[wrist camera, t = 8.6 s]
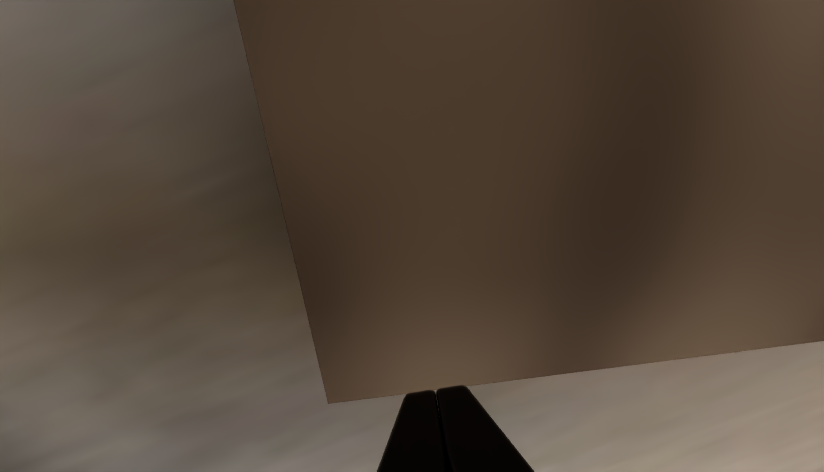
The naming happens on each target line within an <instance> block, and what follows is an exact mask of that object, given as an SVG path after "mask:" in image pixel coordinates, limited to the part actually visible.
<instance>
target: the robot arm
mask: <svg viewBox="0 0 824 472" xmlns="http://www.w3.org/2000/svg"><path fill="white" fill-rule="evenodd" d="M436 396H437V398H436ZM437 403H438V404H437ZM438 409H439V411H438ZM439 416H440V417H439ZM377 472H534V470H533V469H532V468H531V467H530V465H529V464H528V463H527V462H526V460H525V459H524V458H523V457H522V455H521V454H520V453H519V452H518V450H517V449H516V448H515V447H514V445H513V444H512V443H511V442H510V440H509V439H508V438H507V437H506V435H505V434H504V433H503V432H502V430H501V429H500V428H499V427H498V425H497V424H496V423H495V422H494V420H493V419H492V418H491V417H490V415H489V414H488V413H487V412H486V410H485V409H484V408H483V407H482V405H481V404H480V403H479V402H478V400H477V399H476V398H475V397H474V395H473V394H472V393H471V392H470V390H469V389H468V388H467V387H466V386H464V385H457V386H451V387H445V388H440V389H438V390H437V392H436V393H435V392H434V391H433V390H425V391H419V392H413V393H408V394H407V395H406V396H405V398H404V400H403V402H402V405H401V408H400V410H399V413H398V416H397V419H396V421H395V424H394V427H393V429H392V432H391V435H390V437H389V440H388V443H387V445H386V448H385V451H384V453H383V456H382V459H381V462H380V464H379V467H378V470H377Z"/></svg>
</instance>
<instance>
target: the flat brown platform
mask: <svg viewBox="0 0 824 472" xmlns="http://www.w3.org/2000/svg"><path fill="white" fill-rule="evenodd" d="M234 4H235V9H236V13H237V17H238V22H239V26H240V30H241V34H242V39H243V43H244V47H245V51H246V56H247V60H248V64H249V68H250V73H251V77H252V81H253V85H254V90H255V94H256V98H257V102H258V107H259V111H260V115H261V120H262V124H263V128H264V132H265V137H266V141H267V145H268V149H269V154H270V158H271V162H272V166H273V171H274V175H275V179H276V183H277V188H278V192H279V196H280V200H281V205H282V209H283V213H284V218H285V222H286V226H287V230H288V235H289V239H290V243H291V247H292V252H293V256H294V260H295V264H296V269H297V273H298V277H299V281H300V286H301V290H302V294H303V298H304V303H305V307H306V311H307V316H308V320H309V324H310V328H311V333H312V337H313V341H314V345H315V350H316V354H317V358H318V362H319V367H320V371H321V375H322V379H323V384H324V388H325V392H326V396H327V401H328V404H329V403H337V402H345V401H353V400H361V399H369V398H377V397H385V396H392V395H400V394H408V393H413V392H419V391H425V390H438V389H440V388H445V387H451V386H457V385H464V386H471V385H479V384H487V383H495V382H503V381H511V380H519V379H526V378H534V377H542V376H550V375H558V374H566V373H574V372H582V371H589V370H597V369H605V368H613V367H621V366H629V365H637V364H645V363H653V362H660V361H668V360H676V359H684V358H692V357H700V356H708V355H716V354H723V353H731V352H739V351H747V350H755V349H763V348H771V347H779V346H787V345H794V344H802V343H810V342H818V341H824V0H234Z"/></svg>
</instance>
